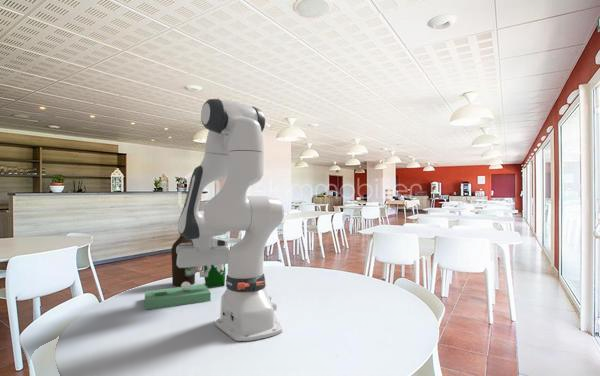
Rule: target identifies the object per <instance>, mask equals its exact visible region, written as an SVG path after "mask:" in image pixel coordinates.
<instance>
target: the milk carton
mask: <svg viewBox="0 0 600 376" xmlns="http://www.w3.org/2000/svg"><path fill="white" fill-rule="evenodd" d="M206 270H207V266H203V272H206ZM203 278H204V282H205V283H204V285H205V286H206V287H207V288H215V287H218V288H219V287H224V286H225V285H226V264H218V265H211V269H210V271H209V272H208V277H203Z"/></svg>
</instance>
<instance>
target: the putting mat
mask: <svg viewBox="0 0 600 376" xmlns="http://www.w3.org/2000/svg"><path fill="white" fill-rule="evenodd" d="M211 293H212V292H211V291H210V290H209V289H208V287H207V285H206V284H205V283H204V284H203V283H202V284H196V285H195V284H193V285H191V287H190V289H189V290H188V291H183V290H182V289H181V286H176V287H170V288H162V289H152V290H146V291H144V306H145V309H144V310H145V311H147V310H155V309H162V308H169V307H175V306H183V305H190V304H196V303H202V302H203V303H204V302H210V301H212V300H211V295H212V294H211Z"/></svg>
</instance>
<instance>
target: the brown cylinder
mask: <svg viewBox="0 0 600 376" xmlns="http://www.w3.org/2000/svg"><path fill="white" fill-rule="evenodd" d="M191 242H193V239H192V240H188V239H186V238H184V237H183V236H182V235H181V234H180V233H179V237H178V238H177V239H176V240H175V242H174V243H173V244H172V246H171V250H170V251H171V252H170V253H171V273H172V278H171V279H172V286H173V287H181V285H182V283H183V282H189V283H190V284H191V286H193V285H195V283H196V273H197V270H196V267H186V268H179V267H178V266H177V253H176V247H177V246H178V245H179V244H181V243H191ZM192 246H193V245H192Z"/></svg>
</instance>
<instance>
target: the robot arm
mask: <svg viewBox="0 0 600 376" xmlns="http://www.w3.org/2000/svg"><path fill="white" fill-rule="evenodd" d="M200 120H201V123H202V125H203V126H204V128H205V129H206V130H208V132H207V135H206V136H207V137H206V140H205V145H204V146H205V147H204V154H203V155H204V156H203V158H202V161H201V163H200V164H199V165H198V166H196V167H195V168H194V170H193V172H192V174H191V177H190V181H189V185H188V189H187V192H186V196H185V200H184V204H183V208H182V211H181V213H180V215H179V219H178V224H177V228H178V229H177V230H178V233H179V235H180V234H181V235H182V236H183V237H184V238H186V239H188V240H192V241H193V242H191V243H181V244H179V245H178V246H177V247H176V253H177V266H178V267H179V268H186V267H195V268H196V269H197V271H198V272H199V278H204V277H208V272H209V271H210V269H211V265H218V264H225V265H227V274H226V275H225V285H226V286H225V287H226V290H225V291H224V292H223V294H222V295H221V298H220V299H221V301H220V313H219V316H220V317H219V318H218V319H216V320H215V322H214V326H216V327H218V329H220V330H221V331H223V332H224V333H225V334H227V336H228V337H230V338H232V339H233V340H234V341H237V342H238V341H239V342H246V341H247V342H249V341H256V340H261V339H265V338H269V337H273V336H276V335H278V334H280V333H281V332H283V327H282V325H281V323H280V322H279V320H278V318H277V316H276V314H275V311H277V303H276V302H272V301H271V300H272V296H271V295H269V293H268V289H267V288H266V287H267V285H266V277H265V274H264V258H265V257H264V255H265V248H266V245H267V242H268V240H269V238H270V236H271V234H272V233H273V232H274V230H276V229H277V228H278V227H279V226H280V225H281V224H282V222H283V220H284V217H285V209H284V205H283V204H282V202H281V200H280V199H278V198H275V197H271V196H266V195H256V196H255V195H253V196H251V195H248V196H247V191H248V189H249V188H250V187H251V186H253V185H255V184H257V183H259V182H260V180H261V179H262V178H263V176H264V139H263V131H264V129H265V126H266V117H265V114H264V112H263V110H261V109H259V108H258V107H255V106H250V105H247V104H245V103H240V102H237V101H232V100H225V99H224V100H223V99H222V100H221V99H220V98H210V99H207V100H206V101H205V102H204V103H203V104H202V107H201V113H200ZM224 178H226V179H225V181H224V184H223V186H222V187H221V189H220V190H219V191H218V192H217V193H216V195H214V196H213V197H212V198H210V199H209V200H201V199H202V195H203V191H204V189H205V188H206V187H207V186H208V185H210V184H211V183H213V182H215V181H216V182H217V181H218V180H222V179H224ZM242 231H243V232H244V231H245V233H244V235H243V238H242V239H241V240H240V241H237V243H234V244H233V245H232V246H231V247H230V248H229V247H228V244H229V243H228V240H227V239H225V238H222V237H219V236H223V235H226V234H227V232H229V233H230V232H242ZM192 245H193V246H192ZM204 266H207V270H206V272H204V271H202V270H201V269H202V268H203V267H204Z"/></svg>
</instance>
